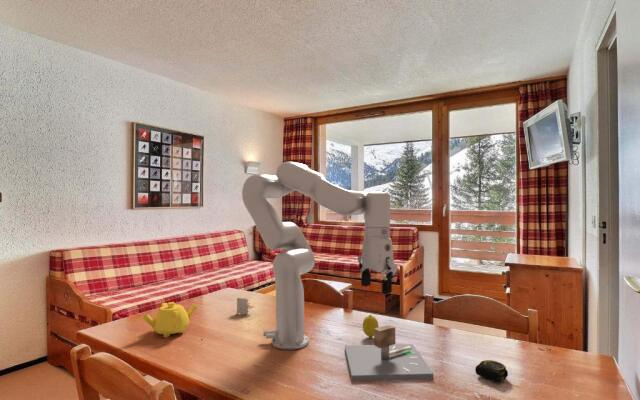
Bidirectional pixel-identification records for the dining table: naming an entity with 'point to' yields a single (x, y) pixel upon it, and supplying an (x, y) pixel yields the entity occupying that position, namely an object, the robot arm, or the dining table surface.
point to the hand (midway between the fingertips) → (375, 289)
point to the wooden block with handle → (387, 341)
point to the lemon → (370, 325)
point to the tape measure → (492, 371)
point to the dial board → (386, 364)
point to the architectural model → (243, 306)
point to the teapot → (170, 319)
